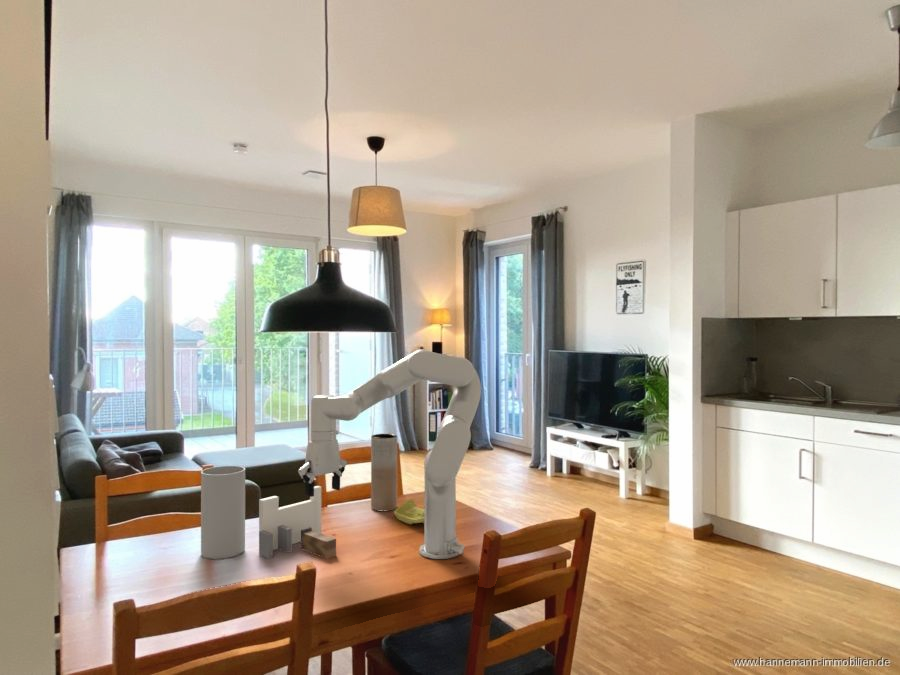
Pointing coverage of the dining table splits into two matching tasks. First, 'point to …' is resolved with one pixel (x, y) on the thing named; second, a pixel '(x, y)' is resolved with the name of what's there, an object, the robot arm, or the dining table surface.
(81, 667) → the dining table surface
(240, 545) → the cylinder vase
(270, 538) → the headboard
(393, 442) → the planter
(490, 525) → the dining table surface
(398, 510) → the plastic component
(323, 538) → the rectangular block
